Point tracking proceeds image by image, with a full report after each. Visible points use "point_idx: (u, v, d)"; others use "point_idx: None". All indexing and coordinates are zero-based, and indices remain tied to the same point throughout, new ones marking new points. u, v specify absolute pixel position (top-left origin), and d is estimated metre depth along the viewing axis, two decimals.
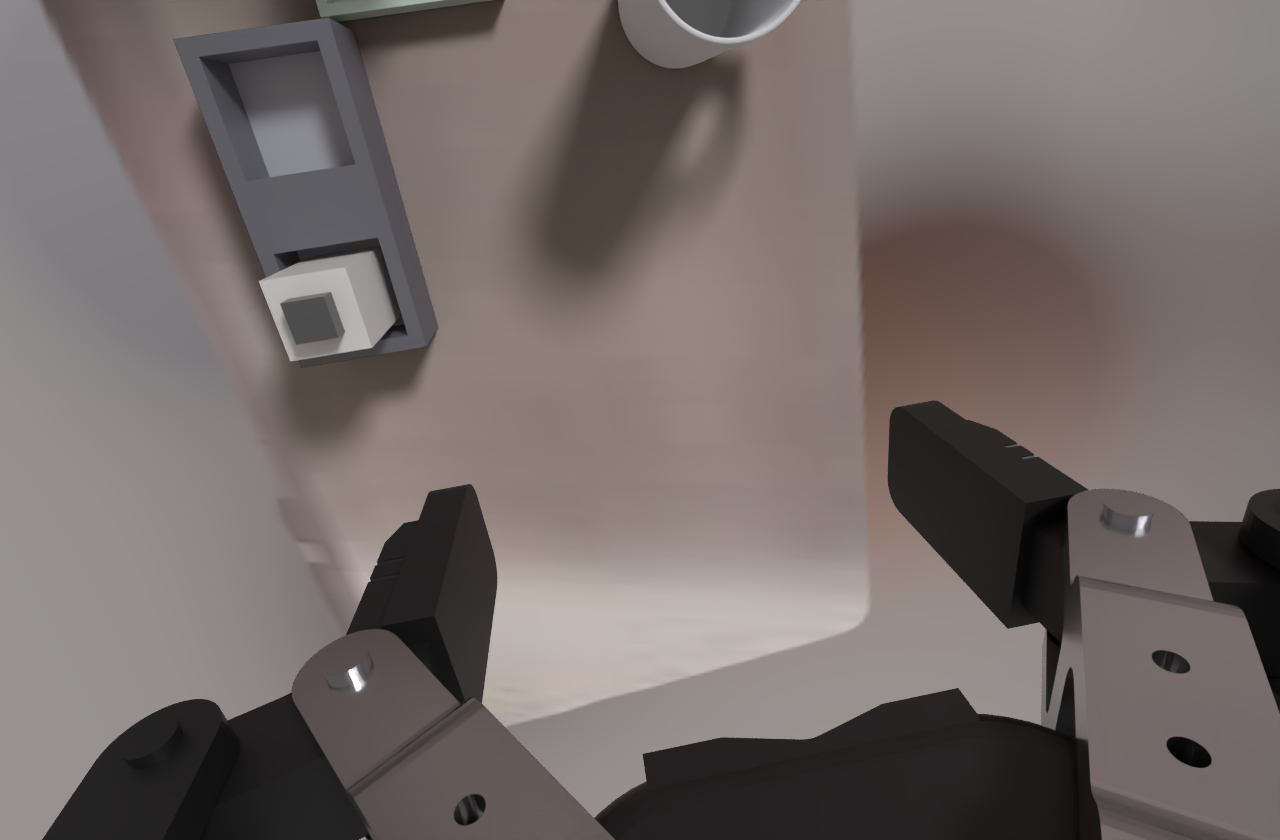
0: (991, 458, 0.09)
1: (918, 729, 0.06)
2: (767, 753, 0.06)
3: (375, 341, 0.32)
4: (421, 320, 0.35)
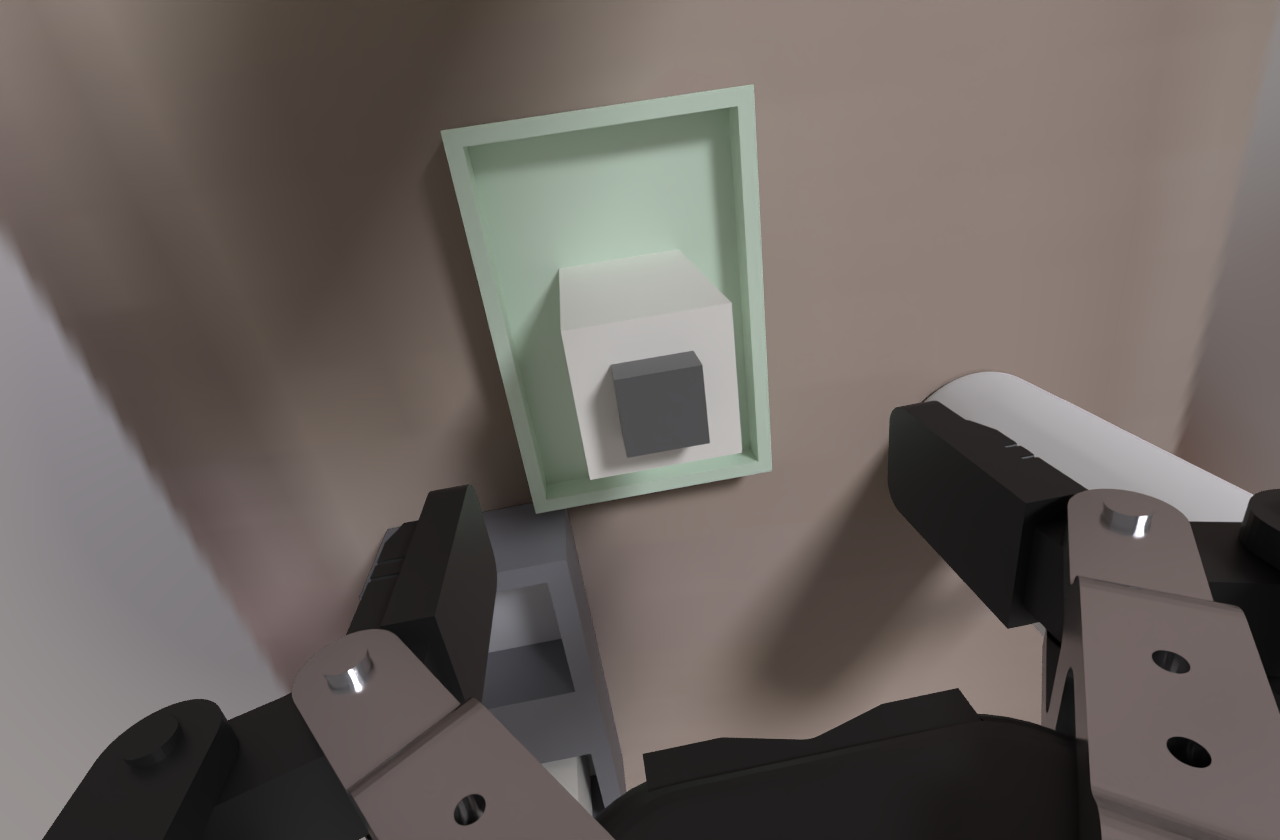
0: (991, 458, 0.09)
1: (918, 729, 0.06)
2: (768, 753, 0.06)
3: None
4: None
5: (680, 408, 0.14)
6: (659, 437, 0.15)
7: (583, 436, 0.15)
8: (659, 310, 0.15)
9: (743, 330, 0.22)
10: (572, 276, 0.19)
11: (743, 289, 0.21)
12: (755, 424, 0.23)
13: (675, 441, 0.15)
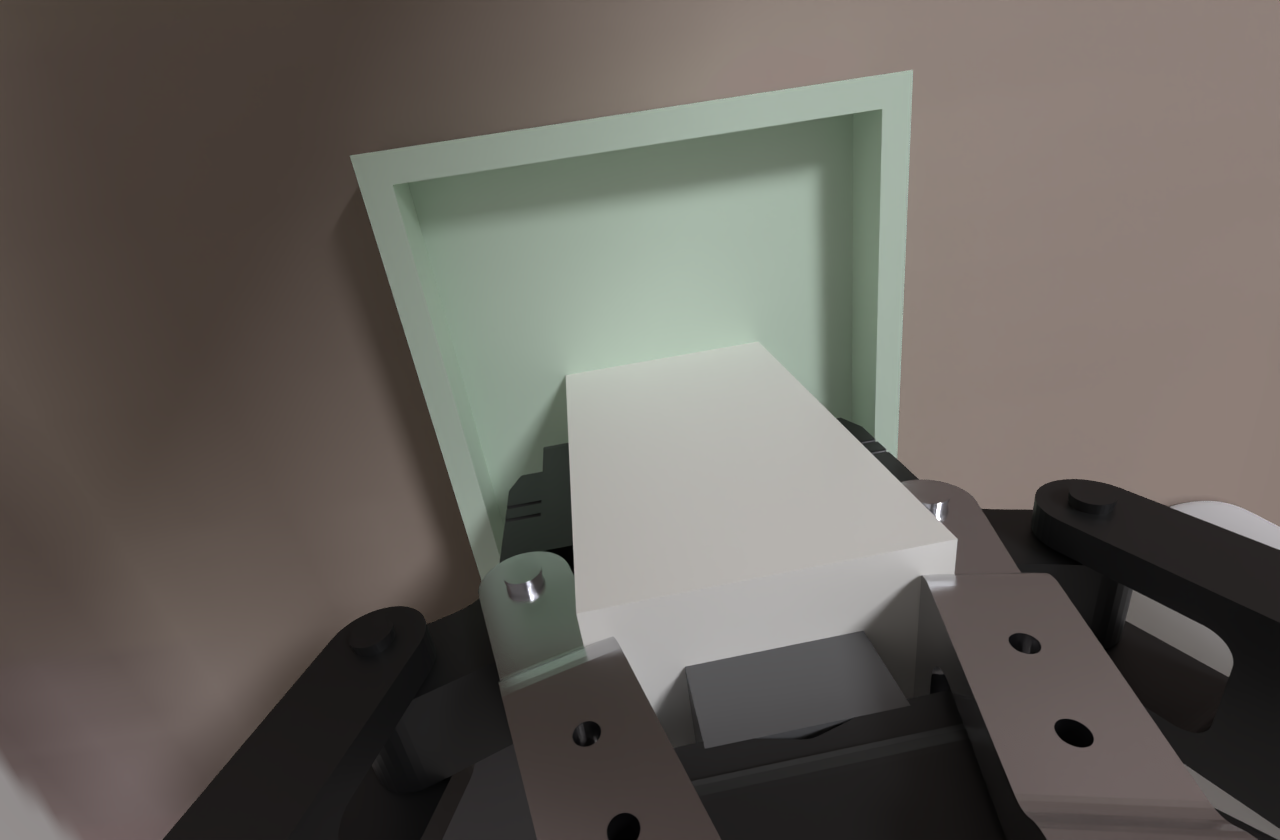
0: None
1: (918, 729, 0.06)
2: (768, 753, 0.06)
3: None
4: None
5: None
6: None
7: None
8: (791, 549, 0.07)
9: None
10: (589, 399, 0.11)
11: (861, 403, 0.13)
12: None
13: None
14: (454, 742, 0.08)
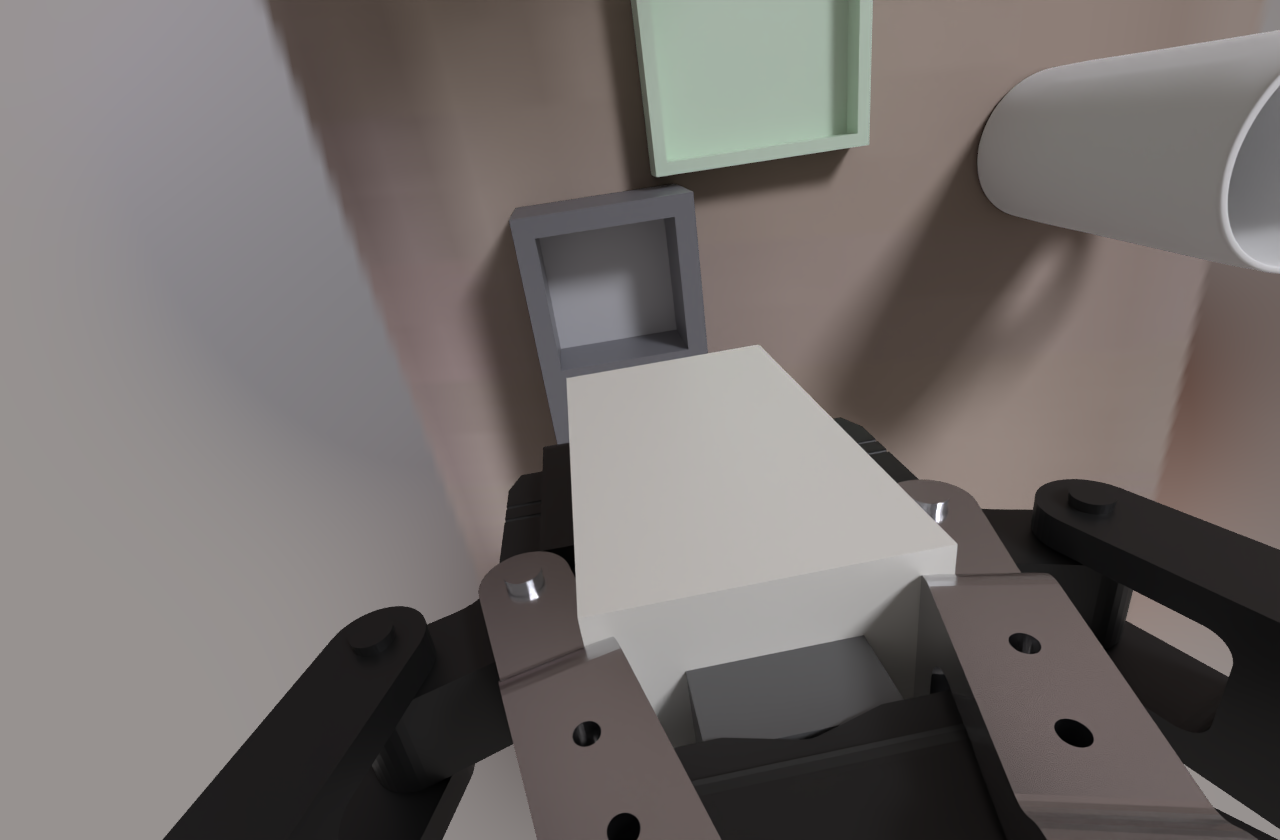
0: None
1: (918, 729, 0.06)
2: (768, 753, 0.06)
3: None
4: None
5: None
6: None
7: None
8: (792, 553, 0.07)
9: None
10: (590, 403, 0.11)
11: None
12: (857, 92, 0.25)
13: None
14: (454, 742, 0.08)
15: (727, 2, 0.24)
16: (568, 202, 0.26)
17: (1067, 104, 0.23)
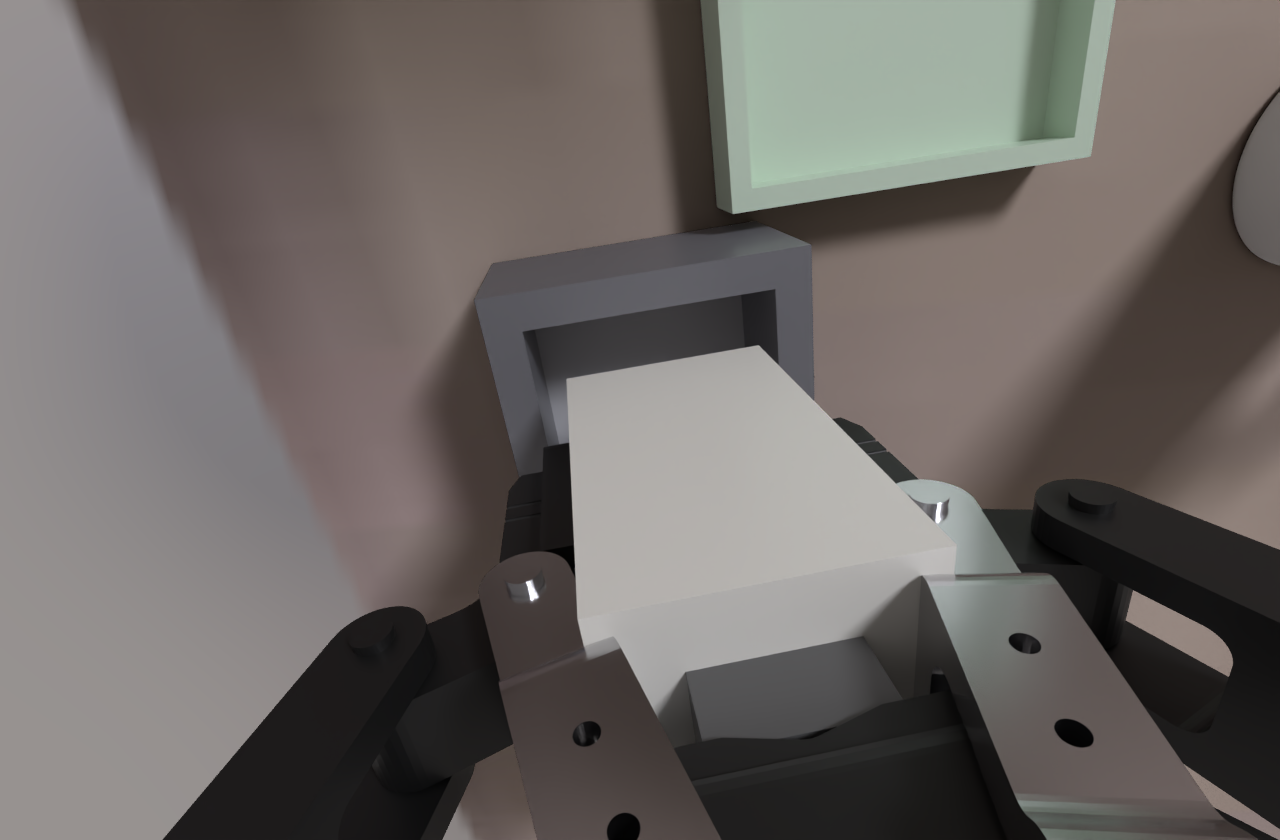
0: None
1: (918, 729, 0.06)
2: (768, 753, 0.06)
3: None
4: None
5: None
6: None
7: None
8: (792, 555, 0.07)
9: None
10: (590, 403, 0.11)
11: None
12: (1081, 66, 0.15)
13: None
14: (455, 741, 0.08)
15: None
16: (581, 256, 0.15)
17: None
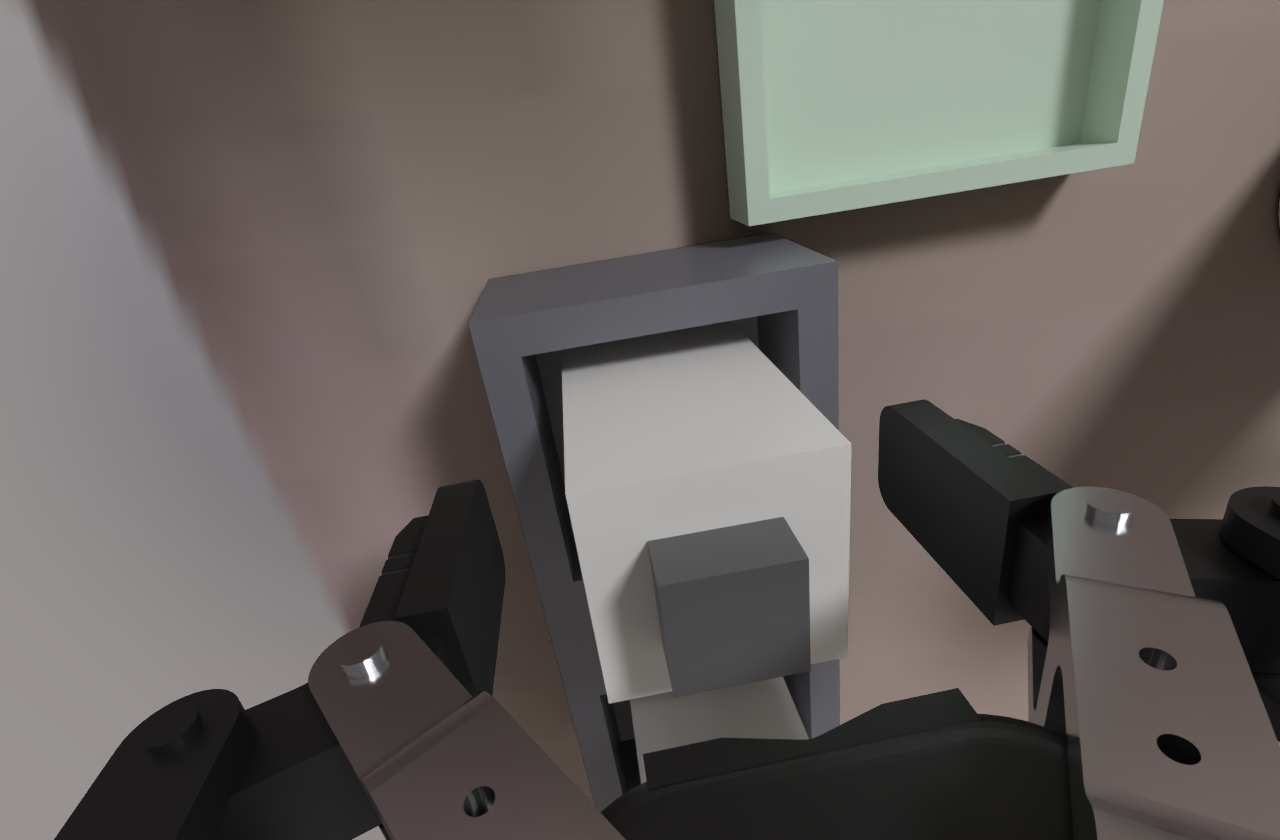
0: (978, 457, 0.09)
1: (918, 729, 0.06)
2: (768, 753, 0.06)
3: None
4: None
5: (766, 623, 0.08)
6: (728, 666, 0.09)
7: (599, 645, 0.10)
8: (728, 453, 0.09)
9: None
10: (580, 359, 0.13)
11: None
12: (1125, 66, 0.13)
13: (754, 671, 0.09)
14: None
15: None
16: (584, 271, 0.14)
17: None
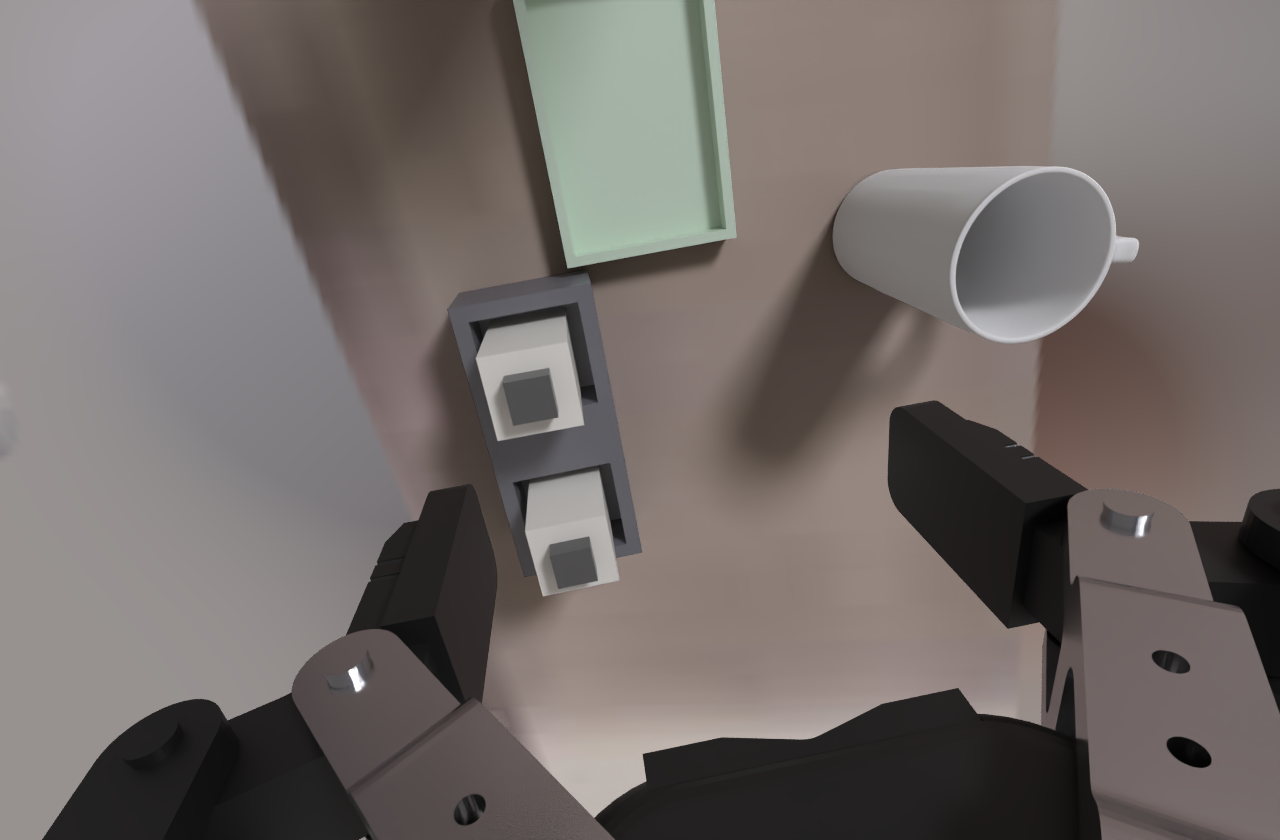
0: (991, 458, 0.09)
1: (918, 729, 0.06)
2: (768, 753, 0.06)
3: (617, 570, 0.33)
4: None
5: (539, 398, 0.27)
6: (529, 414, 0.27)
7: (492, 415, 0.28)
8: (530, 346, 0.27)
9: (711, 128, 0.31)
10: (496, 325, 0.32)
11: (709, 93, 0.31)
12: (722, 198, 0.32)
13: (539, 416, 0.27)
14: None
15: (615, 135, 0.31)
16: (499, 289, 0.33)
17: (878, 208, 0.30)
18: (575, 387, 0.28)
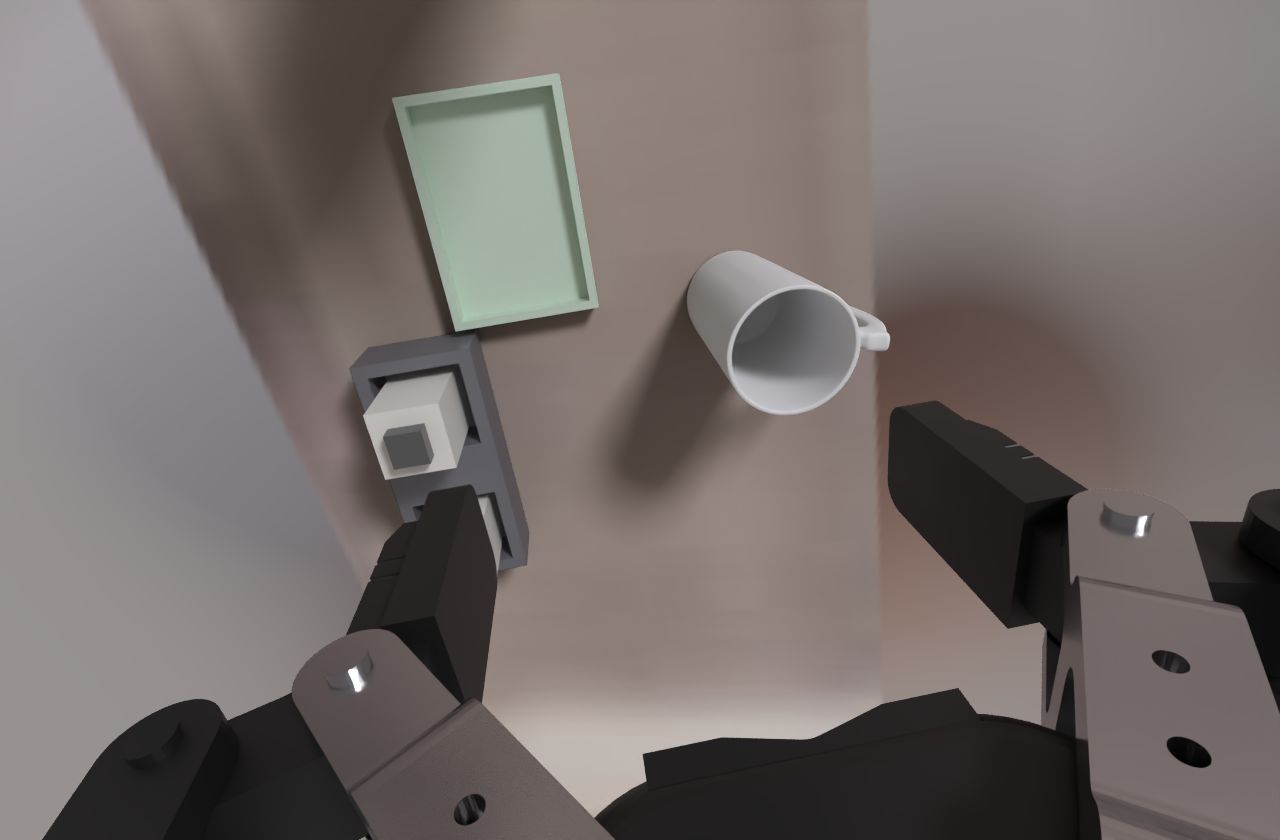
0: (991, 458, 0.09)
1: (918, 729, 0.06)
2: (768, 753, 0.06)
3: None
4: (523, 543, 0.43)
5: (414, 448, 0.33)
6: (407, 461, 0.34)
7: (379, 460, 0.35)
8: (408, 405, 0.34)
9: (575, 218, 0.38)
10: (394, 378, 0.38)
11: None
12: (585, 276, 0.38)
13: (414, 462, 0.34)
14: None
15: (494, 223, 0.37)
16: (399, 346, 0.39)
17: (706, 292, 0.37)
18: (447, 438, 0.35)
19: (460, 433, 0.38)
